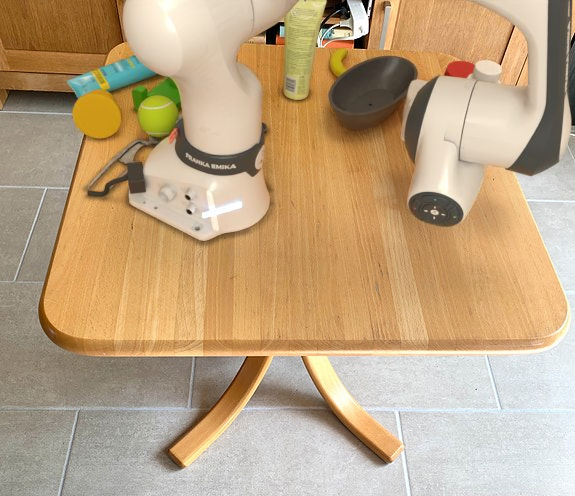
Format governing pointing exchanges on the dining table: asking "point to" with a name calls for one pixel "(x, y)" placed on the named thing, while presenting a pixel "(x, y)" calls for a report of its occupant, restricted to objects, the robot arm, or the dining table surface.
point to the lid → (459, 69)
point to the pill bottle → (486, 71)
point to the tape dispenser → (157, 93)
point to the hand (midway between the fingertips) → (481, 88)
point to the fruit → (338, 61)
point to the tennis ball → (157, 115)
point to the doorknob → (97, 114)
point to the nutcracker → (127, 156)
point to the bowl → (371, 91)
